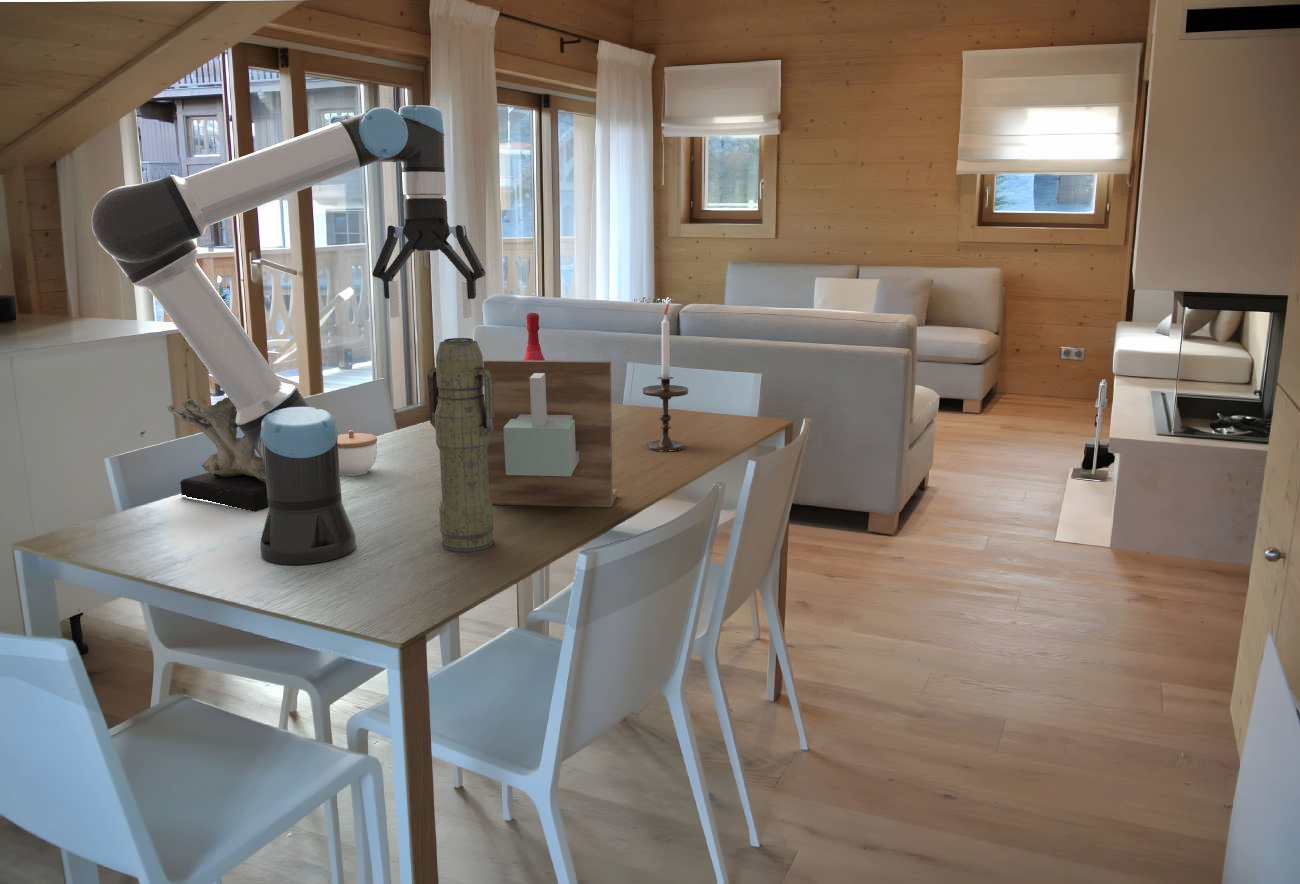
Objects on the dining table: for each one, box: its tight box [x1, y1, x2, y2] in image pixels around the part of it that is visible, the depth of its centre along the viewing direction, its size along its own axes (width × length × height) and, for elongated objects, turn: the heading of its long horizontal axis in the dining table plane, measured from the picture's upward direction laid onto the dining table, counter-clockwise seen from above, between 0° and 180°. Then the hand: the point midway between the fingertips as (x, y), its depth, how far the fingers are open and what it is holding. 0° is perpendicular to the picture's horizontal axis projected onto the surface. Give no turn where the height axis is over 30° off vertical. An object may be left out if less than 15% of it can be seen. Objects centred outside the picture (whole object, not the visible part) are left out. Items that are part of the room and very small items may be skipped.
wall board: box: [483, 359, 618, 508], centre depth 194 cm, size 11×24×28 cm, turn 84°
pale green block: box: [503, 373, 579, 476], centre depth 186 cm, size 9×12×18 cm
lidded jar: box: [337, 430, 378, 477], centre depth 220 cm, size 11×11×9 cm
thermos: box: [426, 337, 495, 553], centre depth 169 cm, size 9×12×35 cm
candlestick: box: [642, 301, 689, 451], centre depth 240 cm, size 11×11×35 cm
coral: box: [166, 396, 268, 513], centre depth 197 cm, size 25×20×21 cm
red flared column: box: [522, 312, 545, 360], centre depth 267 cm, size 10×10×30 cm
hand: (431, 317), depth 184 cm, fingers open, 13 cm apart
